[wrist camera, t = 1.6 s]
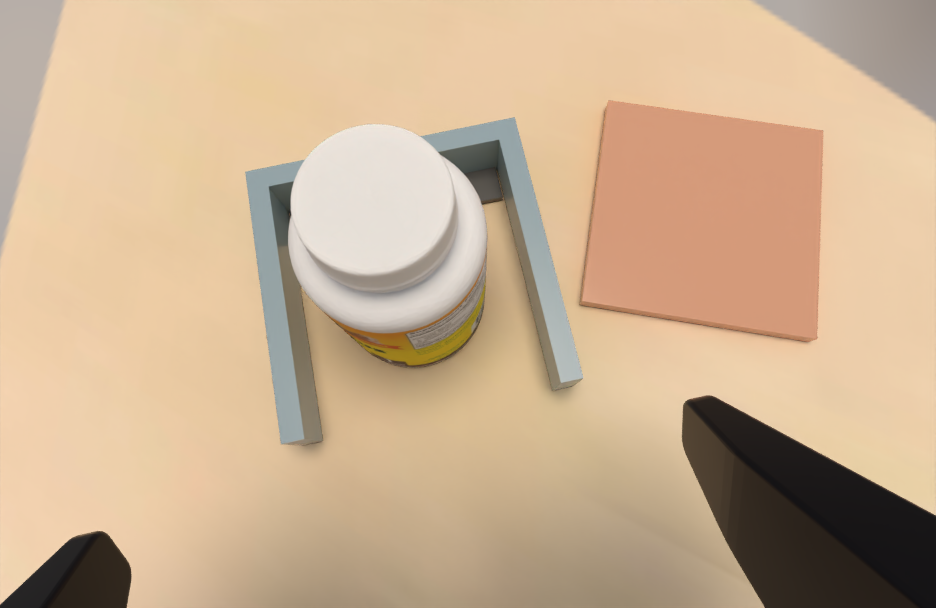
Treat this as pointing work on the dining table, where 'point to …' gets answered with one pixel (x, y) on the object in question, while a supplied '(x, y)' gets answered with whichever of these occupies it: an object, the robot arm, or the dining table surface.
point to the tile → (706, 221)
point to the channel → (478, 161)
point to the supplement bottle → (390, 243)
